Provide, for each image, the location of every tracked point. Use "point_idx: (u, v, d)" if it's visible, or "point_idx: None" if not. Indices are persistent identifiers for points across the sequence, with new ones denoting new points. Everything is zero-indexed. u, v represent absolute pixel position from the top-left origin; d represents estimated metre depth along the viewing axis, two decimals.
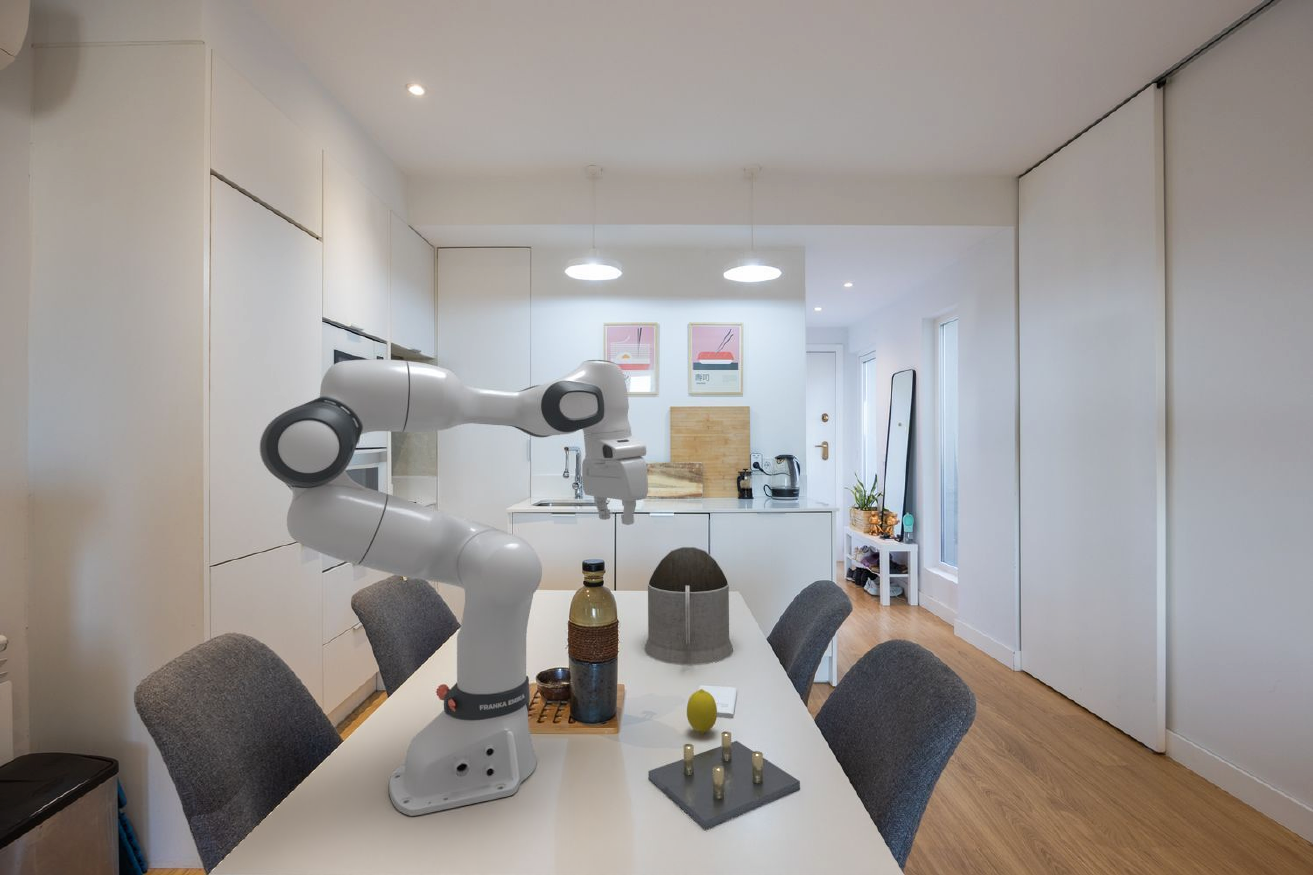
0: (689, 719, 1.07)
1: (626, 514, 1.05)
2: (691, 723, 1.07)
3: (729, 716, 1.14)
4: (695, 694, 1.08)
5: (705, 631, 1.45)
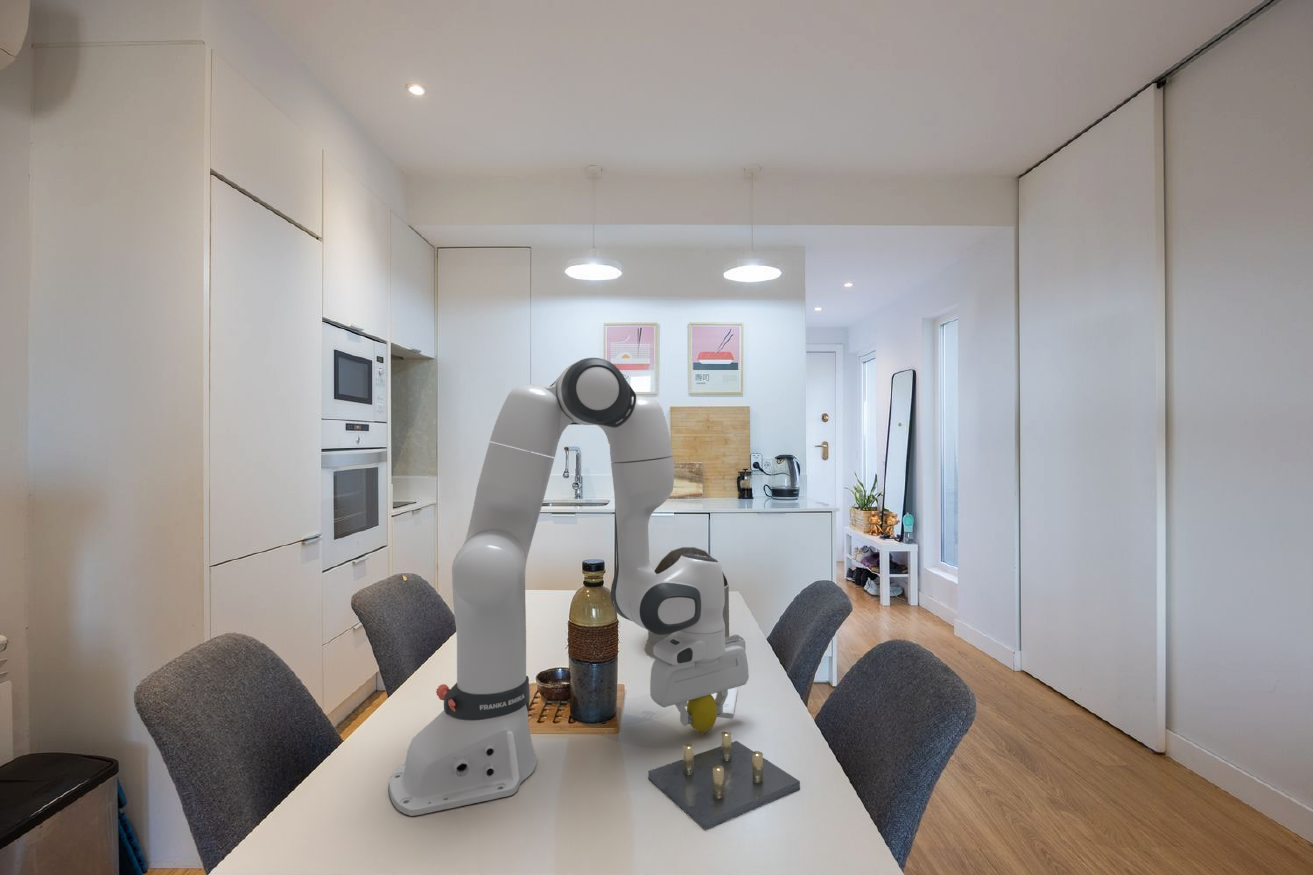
0: None
1: (680, 712, 1.06)
2: (691, 723, 1.07)
3: (729, 716, 1.14)
4: None
5: None
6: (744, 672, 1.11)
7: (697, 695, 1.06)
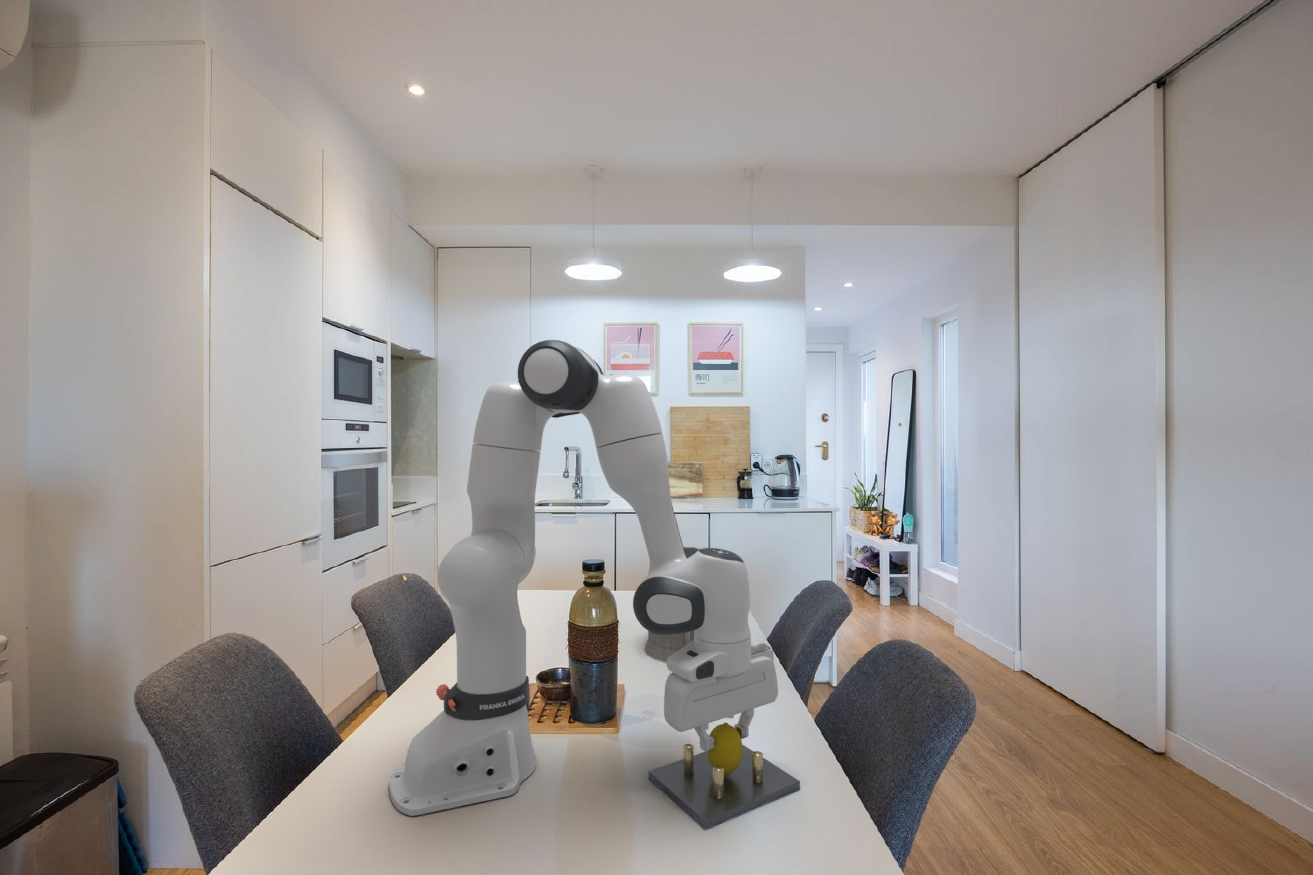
0: (710, 758, 0.91)
1: (699, 736, 0.90)
2: (712, 763, 0.90)
3: (729, 716, 1.15)
4: (718, 728, 0.92)
5: None
6: (773, 687, 0.95)
7: (719, 716, 0.89)
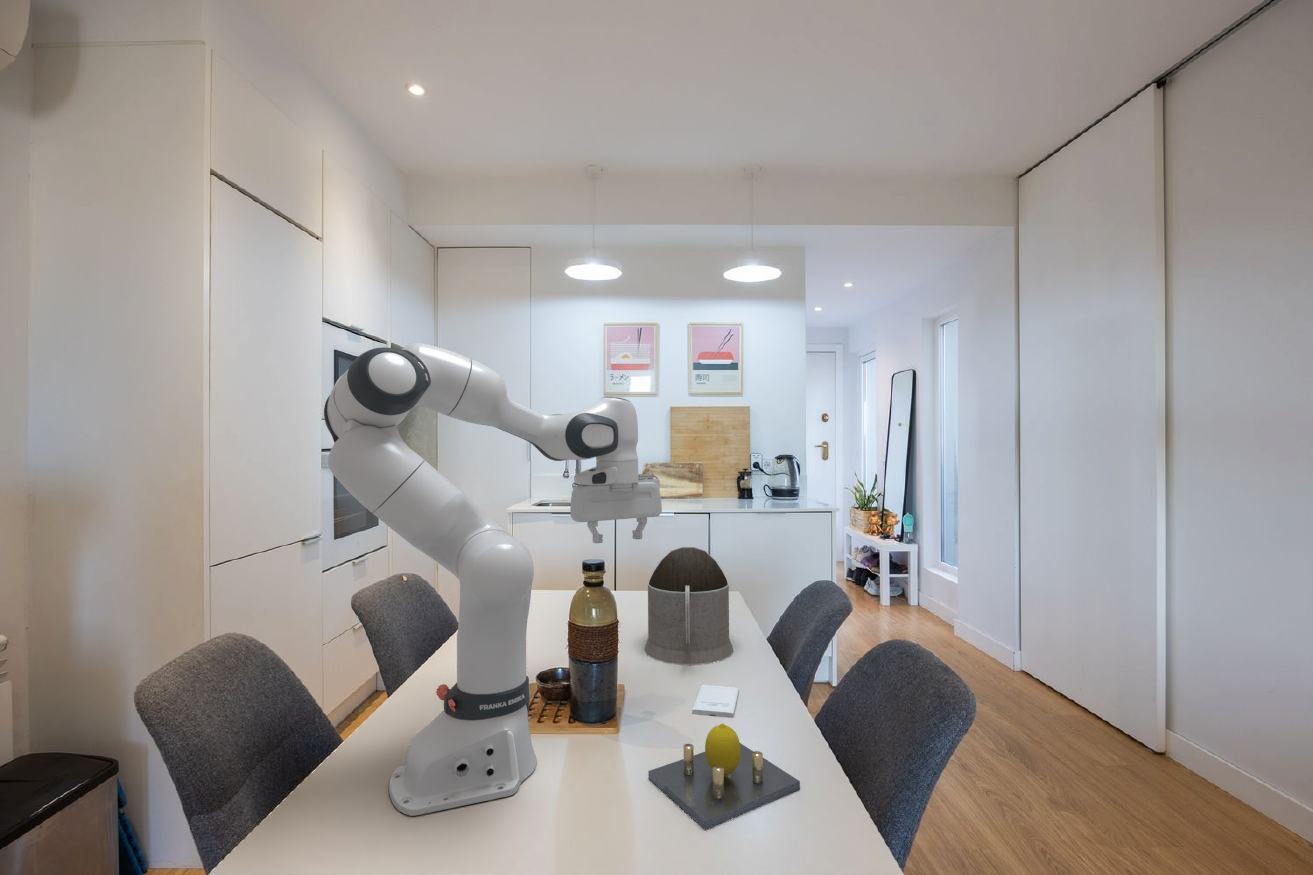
0: (708, 760, 0.91)
1: (592, 533, 1.21)
2: (711, 765, 0.90)
3: (729, 716, 1.15)
4: (715, 730, 0.91)
5: (705, 631, 1.45)
6: (657, 505, 1.27)
7: (612, 517, 1.21)
